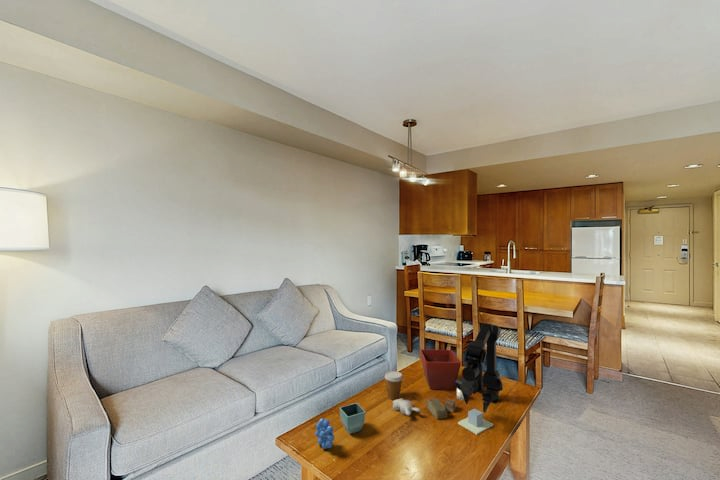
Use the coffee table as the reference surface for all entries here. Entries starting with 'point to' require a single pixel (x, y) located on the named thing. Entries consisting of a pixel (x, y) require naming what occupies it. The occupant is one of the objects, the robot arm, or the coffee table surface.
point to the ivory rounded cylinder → (459, 395)
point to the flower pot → (352, 417)
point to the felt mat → (472, 427)
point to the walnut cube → (450, 405)
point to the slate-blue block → (475, 417)
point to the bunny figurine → (404, 406)
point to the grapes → (324, 433)
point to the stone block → (437, 408)
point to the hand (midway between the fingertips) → (475, 407)
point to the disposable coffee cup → (393, 384)
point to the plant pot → (440, 368)
